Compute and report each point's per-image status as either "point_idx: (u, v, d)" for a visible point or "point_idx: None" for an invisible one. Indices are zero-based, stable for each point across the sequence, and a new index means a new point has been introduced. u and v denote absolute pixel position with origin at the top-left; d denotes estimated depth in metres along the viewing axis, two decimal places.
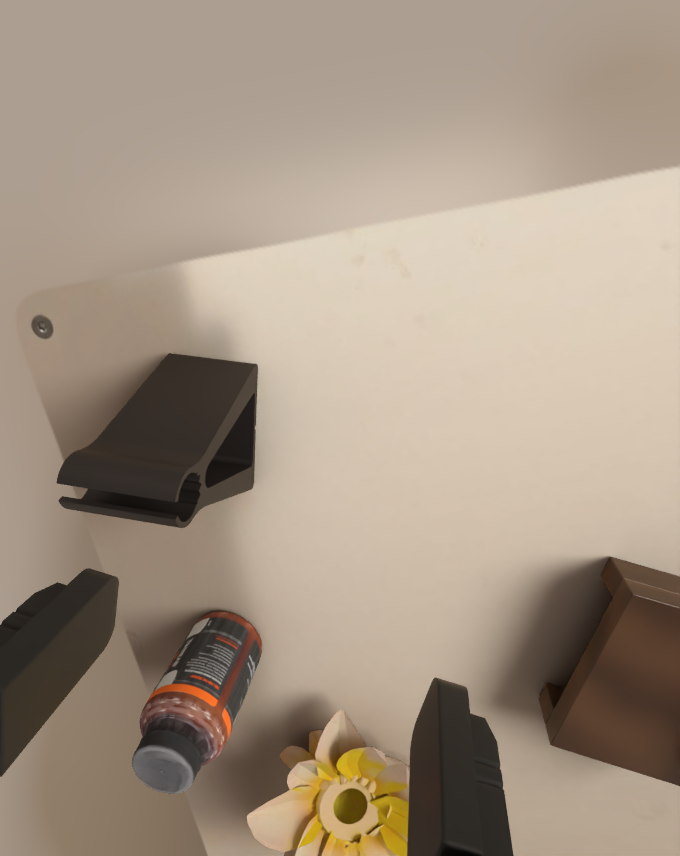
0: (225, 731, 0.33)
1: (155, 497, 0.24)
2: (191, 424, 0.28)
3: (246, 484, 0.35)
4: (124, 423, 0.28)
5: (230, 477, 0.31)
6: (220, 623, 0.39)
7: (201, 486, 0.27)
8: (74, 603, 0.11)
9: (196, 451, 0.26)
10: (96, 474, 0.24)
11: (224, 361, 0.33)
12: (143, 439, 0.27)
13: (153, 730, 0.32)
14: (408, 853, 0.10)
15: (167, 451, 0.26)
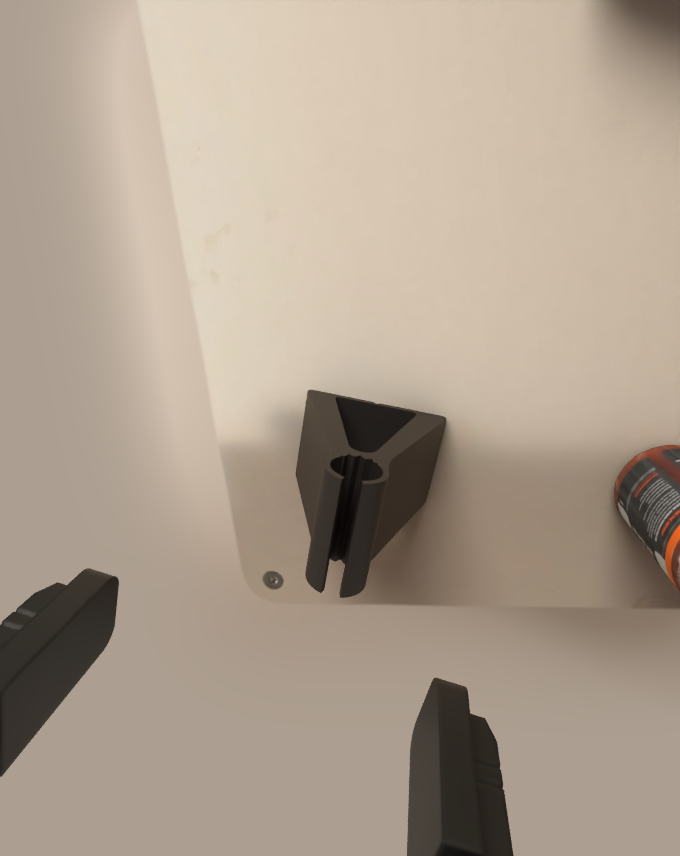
0: None
1: (336, 498, 0.22)
2: (319, 457, 0.27)
3: (432, 422, 0.31)
4: (311, 521, 0.28)
5: (398, 432, 0.28)
6: (624, 489, 0.30)
7: (363, 456, 0.24)
8: (74, 603, 0.11)
9: (328, 453, 0.25)
10: (316, 552, 0.23)
11: (303, 421, 0.33)
12: None
13: None
14: (408, 853, 0.10)
15: None
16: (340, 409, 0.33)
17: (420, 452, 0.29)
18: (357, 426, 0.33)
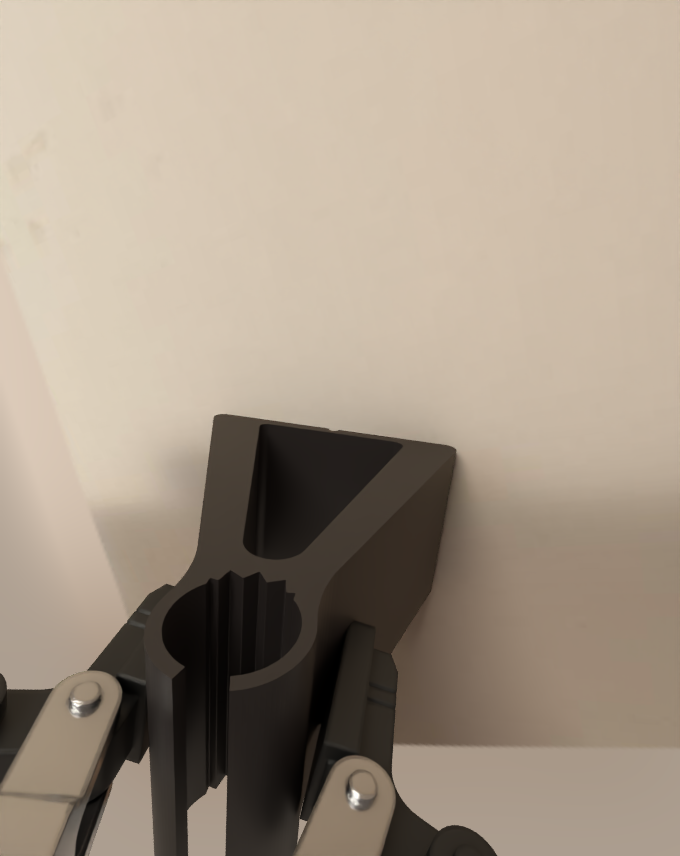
0: None
1: (167, 724, 0.08)
2: None
3: (430, 459, 0.17)
4: None
5: (362, 492, 0.14)
6: None
7: (266, 572, 0.11)
8: None
9: None
10: (155, 826, 0.10)
11: None
12: None
13: None
14: (311, 767, 0.11)
15: None
16: (272, 444, 0.19)
17: (409, 525, 0.15)
18: (303, 471, 0.19)
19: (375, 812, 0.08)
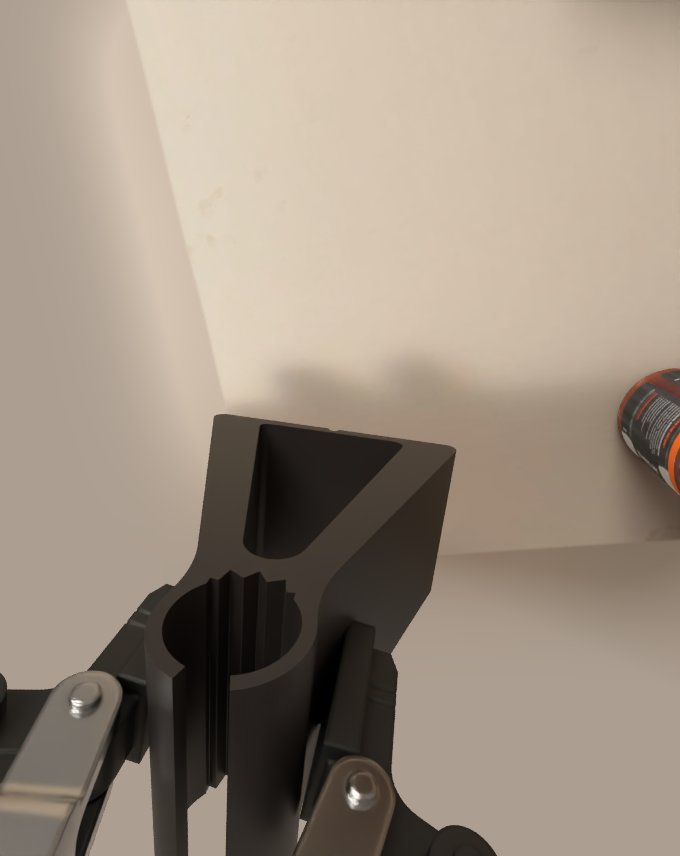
0: None
1: (167, 724, 0.08)
2: None
3: (430, 460, 0.17)
4: None
5: (362, 492, 0.14)
6: (626, 415, 0.31)
7: (267, 572, 0.11)
8: None
9: None
10: (156, 825, 0.10)
11: None
12: None
13: None
14: (311, 767, 0.11)
15: None
16: (272, 444, 0.19)
17: (409, 525, 0.15)
18: (304, 471, 0.19)
19: (375, 812, 0.08)
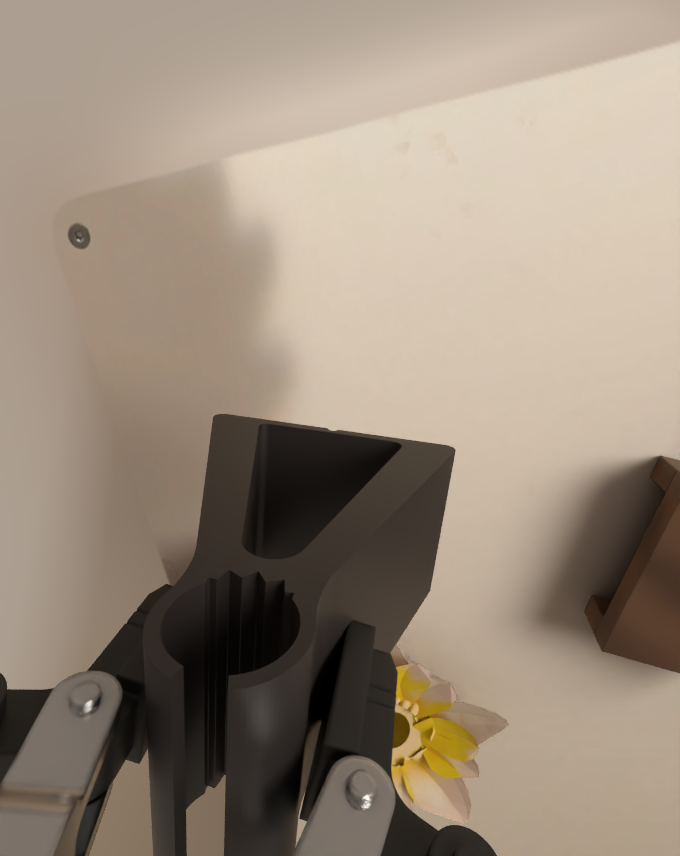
0: None
1: (166, 723, 0.08)
2: None
3: (429, 459, 0.17)
4: None
5: (361, 491, 0.14)
6: None
7: (265, 572, 0.11)
8: None
9: None
10: (154, 825, 0.10)
11: None
12: None
13: None
14: (311, 767, 0.11)
15: None
16: (271, 444, 0.19)
17: (408, 525, 0.15)
18: (303, 471, 0.19)
19: (375, 812, 0.08)
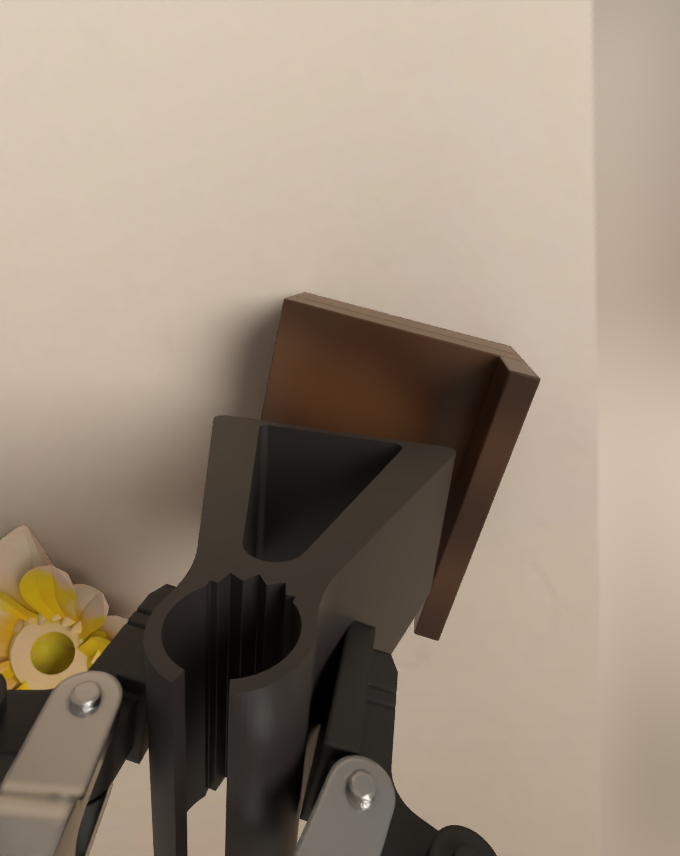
0: None
1: (167, 727, 0.08)
2: None
3: (430, 461, 0.17)
4: None
5: (362, 493, 0.14)
6: None
7: (266, 575, 0.11)
8: None
9: None
10: (155, 828, 0.10)
11: None
12: None
13: None
14: None
15: None
16: (272, 445, 0.19)
17: (409, 527, 0.15)
18: (303, 473, 0.19)
19: (374, 812, 0.08)
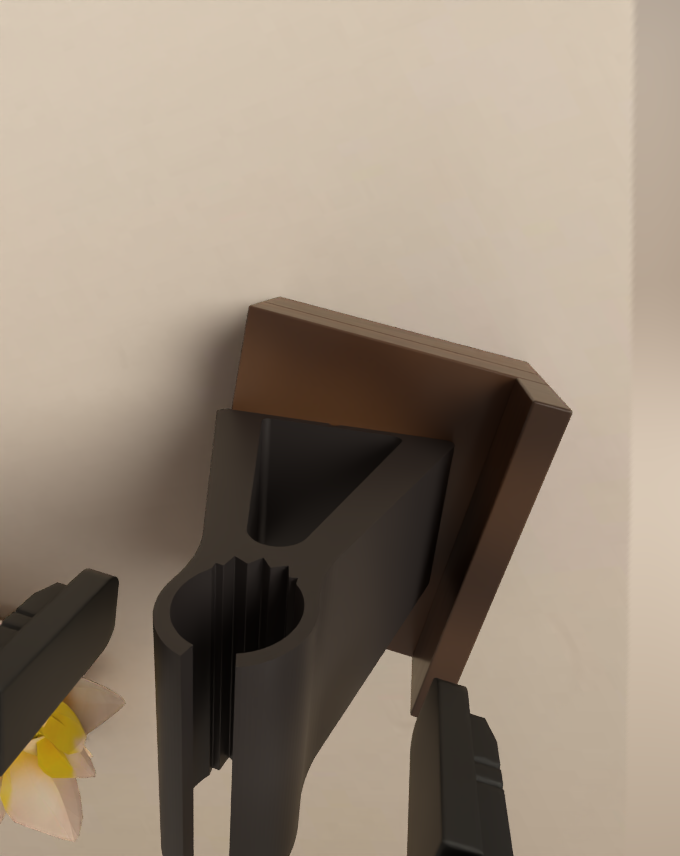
0: None
1: (175, 700, 0.09)
2: None
3: (429, 454, 0.17)
4: None
5: (362, 483, 0.15)
6: None
7: (270, 558, 0.11)
8: (74, 603, 0.11)
9: None
10: (163, 801, 0.10)
11: None
12: None
13: None
14: (408, 853, 0.10)
15: None
16: (274, 438, 0.20)
17: (408, 517, 0.15)
18: (305, 465, 0.20)
19: None
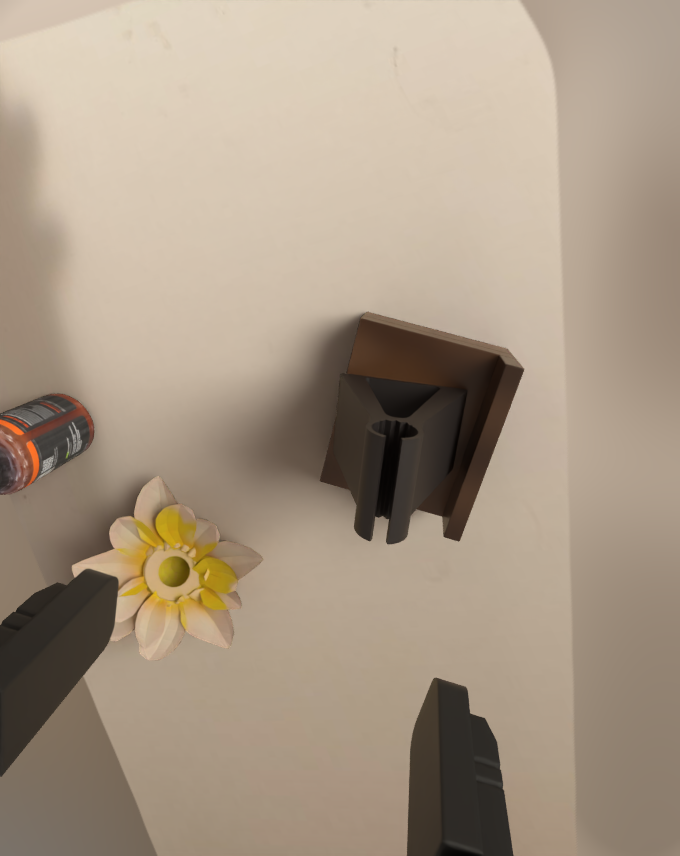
0: (29, 458, 0.38)
1: (379, 454, 0.25)
2: (357, 427, 0.31)
3: (455, 393, 0.34)
4: (354, 485, 0.31)
5: (426, 402, 0.32)
6: (49, 397, 0.44)
7: (399, 420, 0.28)
8: (74, 603, 0.11)
9: (368, 421, 0.29)
10: (363, 505, 0.27)
11: None
12: (360, 468, 0.30)
13: None
14: (408, 853, 0.10)
15: None
16: (370, 389, 0.36)
17: (447, 419, 0.32)
18: (386, 403, 0.37)
19: None
